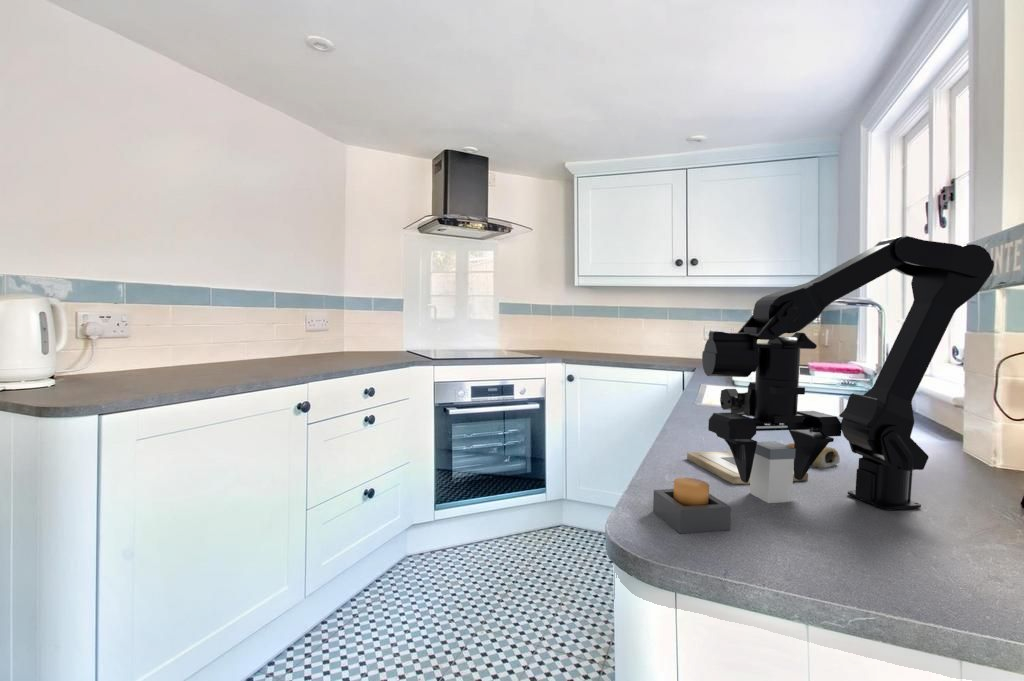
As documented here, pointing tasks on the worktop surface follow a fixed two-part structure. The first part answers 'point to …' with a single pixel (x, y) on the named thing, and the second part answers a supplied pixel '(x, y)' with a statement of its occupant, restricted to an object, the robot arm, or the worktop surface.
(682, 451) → the worktop surface
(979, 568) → the worktop surface
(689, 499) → the button
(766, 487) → the two-tone grey block
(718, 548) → the worktop surface
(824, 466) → the pastry
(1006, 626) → the worktop surface
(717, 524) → the button housing
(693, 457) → the picture frame
